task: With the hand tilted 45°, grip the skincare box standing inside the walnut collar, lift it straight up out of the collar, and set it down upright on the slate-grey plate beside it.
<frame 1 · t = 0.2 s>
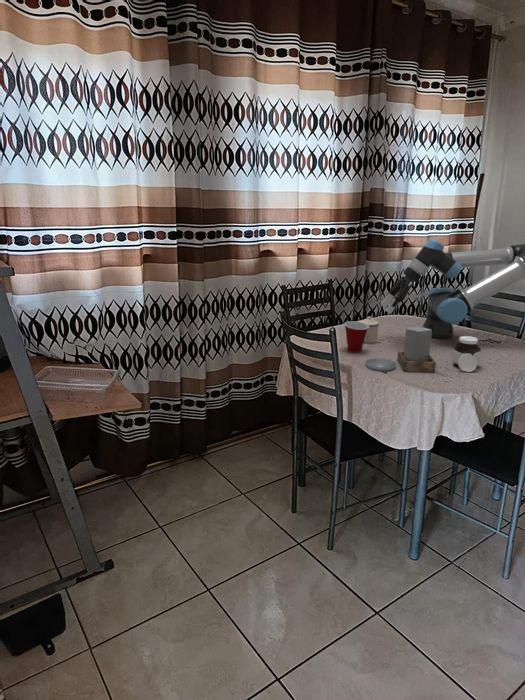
hand: (385, 309, 225), 16 cm above the table, tool tilted 35°, fingers open, 13 cm apart
teacup with lid: (364, 341, 231), on the table
spread jar: (465, 368, 196), on the table
slate plate: (380, 366, 198), on the table
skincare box: (415, 366, 198), resting in walnut collar
walnut collar: (415, 366, 198), on the table
plastic cup: (355, 350, 217), on the table
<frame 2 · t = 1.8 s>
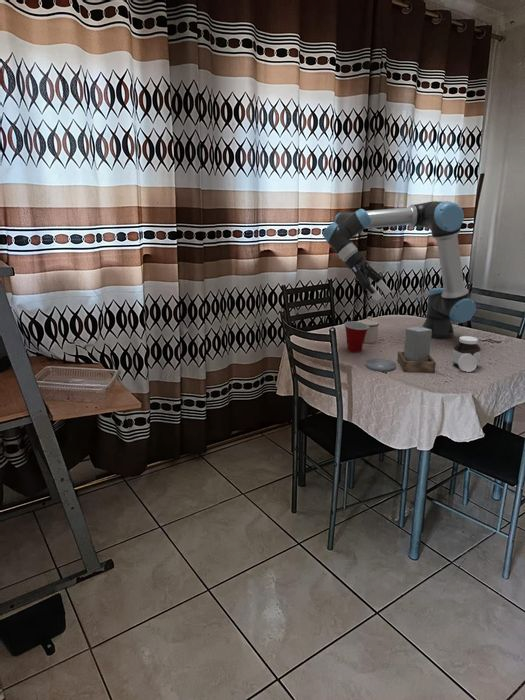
hand: (384, 296, 199), 26 cm above the table, tool tilted 45°, fingers open, 13 cm apart
nothing on the table moved.
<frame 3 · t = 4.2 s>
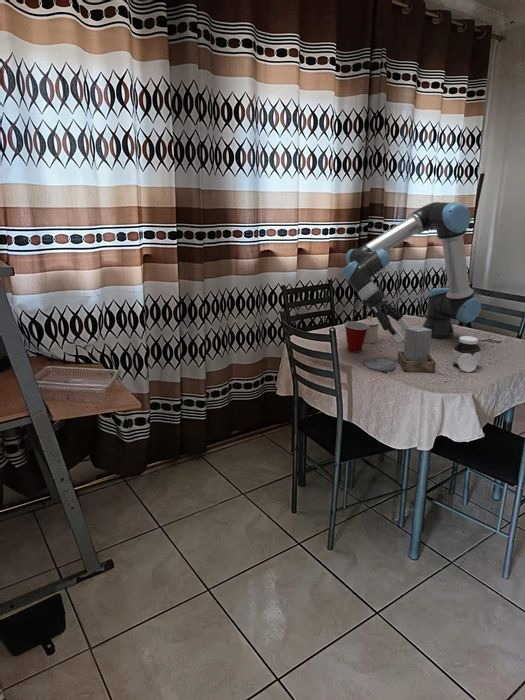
hand: (405, 336, 195), 12 cm above the table, tool tilted 45°, fingers open, 13 cm apart
nothing on the table moved.
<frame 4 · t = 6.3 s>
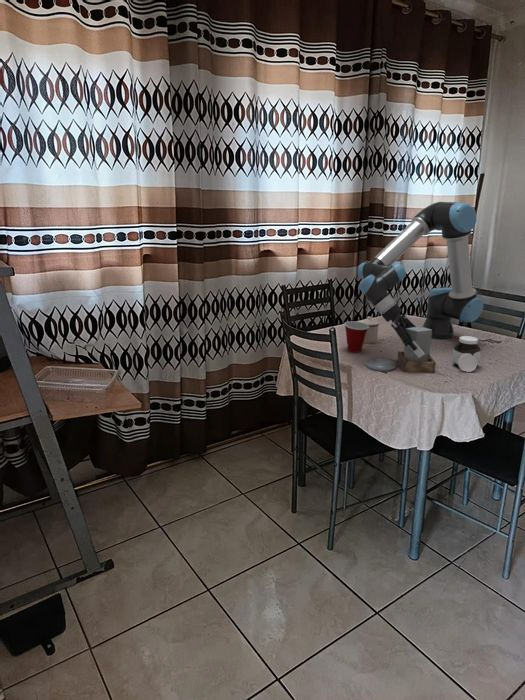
hand: (424, 352, 194), 7 cm above the table, tool tilted 45°, fingers closed on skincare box, 10 cm apart
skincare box: (415, 366, 198), resting in walnut collar, touching gripper
everything else where it was.
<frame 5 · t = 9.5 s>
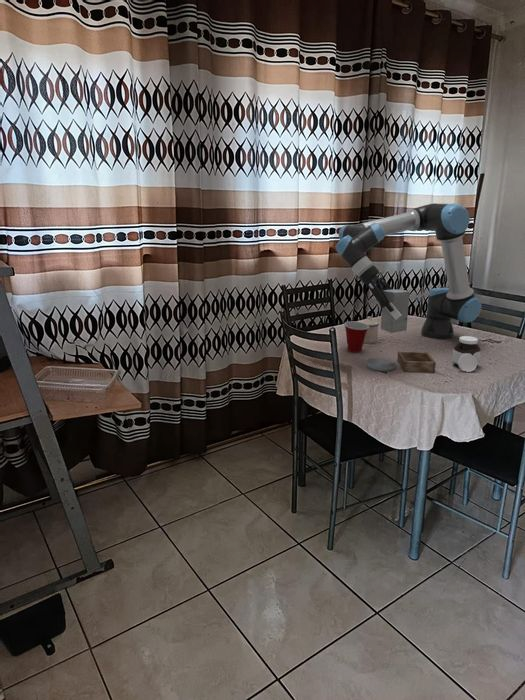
hand: (402, 314, 189), 22 cm above the table, tool tilted 45°, fingers closed on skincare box, 10 cm apart
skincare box: (393, 330, 193), point 15 cm above the table, touching gripper
everything else where it was.
when the fingers open (9 cm above the table, at t = 12.6 s): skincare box drops 1 cm, resting on slate plate.
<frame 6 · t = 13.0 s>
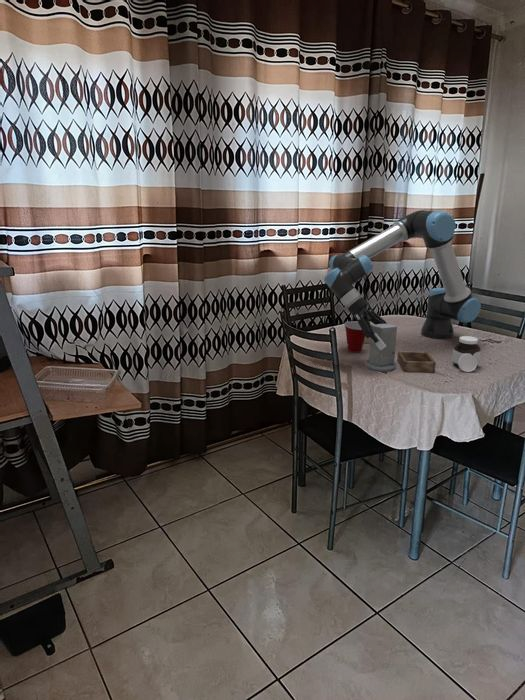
hand: (388, 343, 193), 10 cm above the table, tool tilted 45°, fingers open, 13 cm apart
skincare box: (381, 363, 198), point 1 cm above the table, touching slate plate
everything else where it was.
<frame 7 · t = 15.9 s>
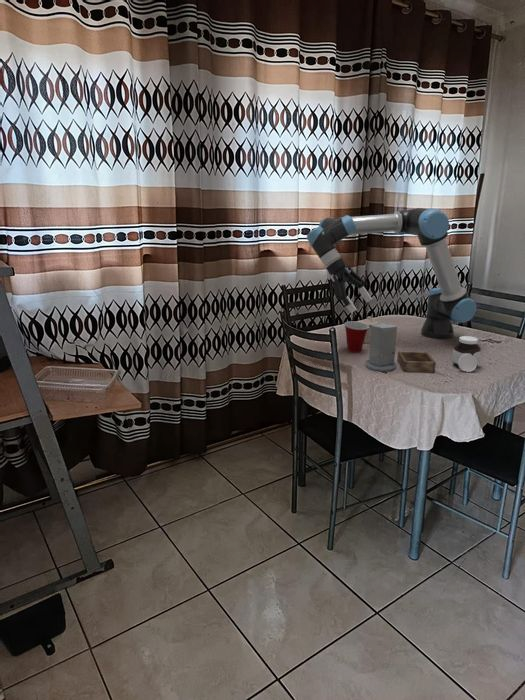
hand: (361, 306, 199), 23 cm above the table, tool tilted 40°, fingers open, 13 cm apart
nothing on the table moved.
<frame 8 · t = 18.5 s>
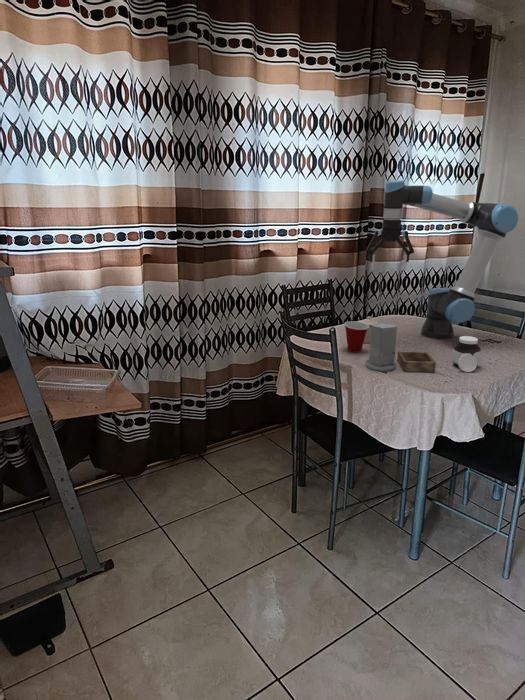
hand: (388, 269, 213), 35 cm above the table, tool pointing down, fingers open, 13 cm apart
nothing on the table moved.
at the end: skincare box inside the target area on the slate plate (0.4 cm from its centre), point 1.0 cm above the slate plate's base; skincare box tilted 0°; the gripper is holding nothing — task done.
